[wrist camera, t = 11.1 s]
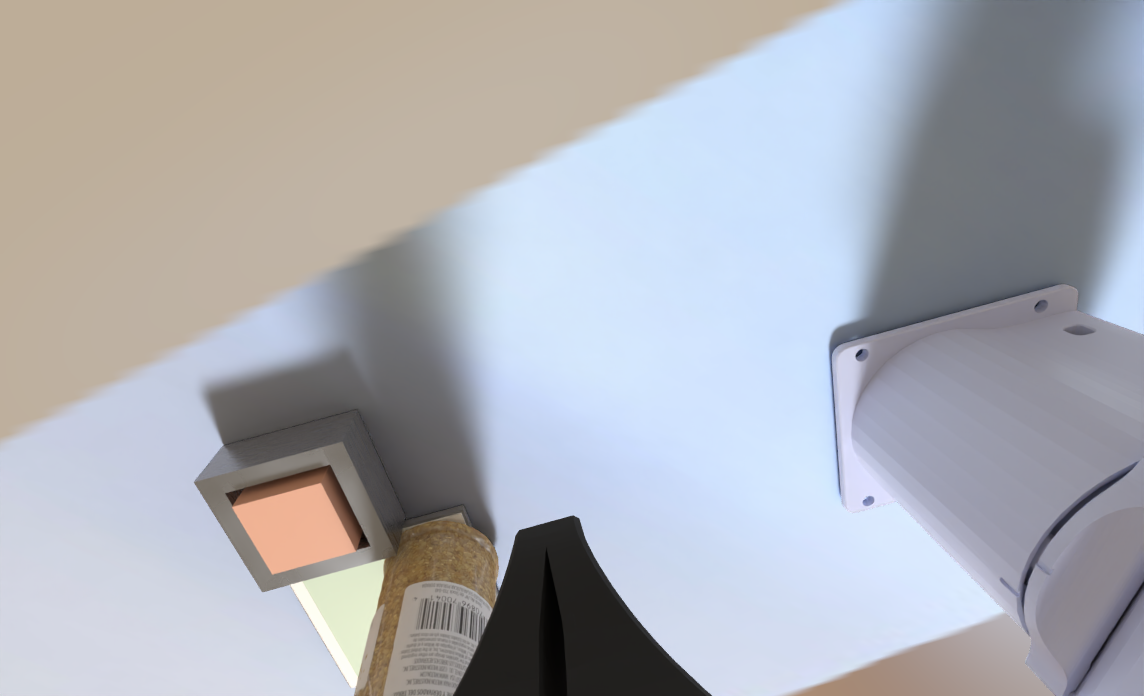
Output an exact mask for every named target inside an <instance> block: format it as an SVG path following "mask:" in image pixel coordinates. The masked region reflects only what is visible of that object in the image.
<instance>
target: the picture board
mask: <svg viewBox="0 0 1144 696" xmlns="http://www.w3.org/2000/svg"><path fill="white" fill-rule="evenodd" d="M431 521H451V522H458V523H462V524H465V525H467V526H469V527H472V525H471V522H470V520H469V517H468V515H467V512H466V510H465V507H464V505H461V506H457V507H453V508H450V509H446V510H442V511H439V512H435V513H431V514H428V515H424V516H420V517H417V518H413V519H409V520H406V521H404V526H403V530H402V533H403V532H405V531H406V530H408V529H411V528H413V527H415V526H418V525H421V524H424V523H427V522H431ZM384 561H385V559H382V560H379V561H375V562H371V563H368V564H364V565H360V566H357V567H353V568H349V569H346V570H342V571H338V572H335V573H331V574H327V575H324V576H320V577H316V578H313V579H309V580H306V581H302V582H298V583H295V584H291V585H290V587H291V588H292V590H293V592H294V593H295V595H296V597H297V598H298V600H299V602H300V603H301V605H302V607H303V609H304V610H305V612H306V614H307V615H308V617H309V619H310V620H311V622H312V624H313V625H314V627H315V629H316V631H317V632H318V634H319V636H320V637H321V639H322V641H323V642H324V644H325V646H326V647H327V649H328V651H329V652H330V654H331V656H332V658H333V659H334V661H335V663H336V664H337V666H338V668H339V669H340V671H341V673H342V674H343V676H344V678H345V679H346V681H347V683H348V685H349V686H350V688H353V687H356V685H357V680H358V676H359V672H360V668H361V663H362V658H363V654H364V650H365V646H366V642H367V637H368V633H369V630H370V626H371V622H372V619H373V617H374V615H375V613H376V610H377V605H378V599H379V596H380V592H381V588H382V583H383V579H384V574H383V567H384ZM497 596H498V590H497V588H496V599H497Z"/></svg>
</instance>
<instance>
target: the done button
mask: <svg viewBox="0 0 1144 696" xmlns="http://www.w3.org/2000/svg"><path fill="white" fill-rule="evenodd" d="M232 508H233V510H234V512H235V513H236V515H237V517H238V518H239V520H240V522H241V523H242V525H243V527H244V528H245V530H246V532H247V533H248V535H249V537H250V538H251V540H252V542H253V543H254V545H255V547H256V548H257V550H258V552H259V553H260V555H261V557H262V558H263V560H264V562H265V563H266V565H267V567H268V568H269V570H270V572H271V573H272V575H273V574H276V573H280V572H284V571H287V570H291V569H295V568H298V567H302V566H306V565H309V564H313V563H316V562H320V561H324V560H327V559H331V558H335V557H338V556H342V555H346V554H349V553H353V552H356V551H357V548H358V545H359V541H360V538H361V535H362V532H363V530H362V528H361V526H360V524H359V522H358V520H357V518H356V516H355V514H354V512H353V510H352V508H351V506H350V504H349V502H348V500H347V498H346V496H345V494H344V492H343V490H342V488H341V486H340V484H339V482H338V480H337V477H336V475H335V473H334V471H333V469H332V467H331V465H327V466H324V467H320V468H316V469H312V470H309V471H305V472H301V473H298V474H294V475H290V476H287V477H283V478H279V479H276V480H272V481H268V482H265V483H261V484H257V485H254V486H250V487H246V488H244V489H243V491H242V492H241V494H240V495H239V497H238V498H237V500H236V502H235V503H234V505H233V506H232Z"/></svg>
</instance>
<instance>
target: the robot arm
mask: <svg viewBox="0 0 1144 696" xmlns="http://www.w3.org/2000/svg"><path fill="white" fill-rule="evenodd" d="M1038 302H1039V303H1038ZM1077 302H1078V291H1077V289H1076V288H1074V287H1072V286H1069V285H1066V284H1060V285H1056V286H1052V287H1049V288H1045V289H1041V290H1038V291H1034V292H1030V293H1027V294H1023V295H1019V296H1016V297H1012V298H1008V299H1005V300H1001V301H997V302H994V303H990V304H986V305H983V306H979V307H975V308H972V309H968V310H964V311H960V312H957V313H953V314H949V315H946V316H942V317H938V318H935V319H931V320H927V321H924V322H920V323H916V324H913V325H909V326H905V327H902V328H898V329H894V330H891V331H887V332H883V333H880V334H876V335H872V336H869V337H865V338H861V339H858V340H854V341H850V342H846V343H843V344H841V345H839V346H838V347H837V348H836V349H835V350H834V352H833V353H832V370H833V385H834V400H835V414H836V429H837V444H838V458H839V473H840V488H841V502H842V505H843V506H844V508H845V509H846V510H847V511H848V512H851V513H857V512H861V511H865V510H868V509H872V508H875V507H879V506H883V505H886V504H890V503H894V502H897V503H898V504H899V505H900V506H901V507H902V508H903V509H904V510H905V511H906V512H907V513H908V514H909V515H910V516H911V517H912V518H913V519H914V520H915V521H916V522H917V523H918V524H919V525H920V526H921V527H922V528H923V529H924V530H925V531H926V532H927V533H928V534H929V535H930V536H931V537H932V538H933V539H934V540H935V541H936V542H937V543H938V544H939V545H940V546H941V547H942V548H943V549H944V550H945V551H946V552H947V554H948V555H949V556H950V557H951V558H952V559H953V560H954V561H955V562H956V563H957V564H958V565H959V566H960V567H961V568H962V569H963V570H964V571H965V572H966V573H967V574H968V575H969V576H970V577H971V578H972V579H973V580H974V581H975V582H976V583H977V584H978V585H979V586H980V587H981V588H982V589H983V590H984V591H985V592H986V593H987V594H988V595H989V596H990V597H991V598H992V599H993V600H994V601H995V602H996V603H997V604H998V605H999V606H1000V607H1001V608H1002V609H1003V610H1004V611H1005V612H1006V613H1007V614H1008V615H1009V616H1010V617H1011V618H1012V619H1013V620H1014V621H1015V622H1016V623H1017V624H1018V625H1019V626H1020V627H1021V628H1022V629H1023V630H1024V631H1025V632H1026V633H1027V634H1028V635H1029V636H1030V638H1031V647H1030V652H1029V654H1028V656H1027V658H1026V660H1025V664H1026V665H1027V666H1028V667H1029V668H1030V669H1031V670H1032V671H1033V673H1034V674H1035V675H1036V676H1037V677H1038V678H1039V679H1040V680H1041V681H1042V682H1043V683H1044V684H1045V685H1046V687H1047V688H1048V689H1049V690H1050V691H1051V692H1052V693H1053V694H1054V695H1055V696H1144V335H1143V334H1140V333H1137V332H1135V331H1132V330H1129V329H1126V328H1124V327H1121V326H1118V325H1115V324H1113V323H1110V322H1107V321H1104V320H1102V319H1099V318H1096V317H1093V316H1091V315H1088V314H1085V313H1082V312H1080V311H1077ZM1037 303H1038V305H1037V306H1036V308H1035V305H1036V304H1037ZM861 349H863V352H862V354H861V355H860V356H858V357H855V356H856V353H857V352H858V351H859V350H861ZM867 496H868V497H867ZM865 497H867V499H865V500H864V498H865ZM453 696H712V695H711V694H709V693H708V692H707V691H706V690H705V689H704V688H703V687H702V686H701V685H700V684H699V683H697V682H696V681H695V680H694V679H693V678H692V677H691V676H690V675H689V674H688V673H687V672H686V671H685V670H684V669H683V668H682V667H681V666H680V665H678V664H677V663H676V662H675V661H674V660H673V659H672V658H671V657H670V656H669V654H668V653H667V652H666V651H665V650H664V649H663V648H662V647H661V646H660V645H659V644H658V643H657V642H656V641H655V639H654V638H653V637H652V636H651V635H650V634H649V633H648V631H647V630H646V629H645V628H644V627H643V626H642V624H641V623H640V622H639V621H638V620H637V618H636V617H635V616H634V615H633V613H632V612H631V611H630V609H629V608H628V607H627V605H626V604H625V603H624V601H623V600H622V599H621V597H620V596H619V595H618V593H617V592H616V590H615V589H614V588H613V586H612V585H611V583H610V582H609V580H608V578H607V577H606V575H605V574H604V572H603V570H602V569H601V567H600V566H599V564H598V562H597V561H596V559H595V557H594V555H593V553H592V551H591V549H590V547H589V546H588V543H587V541H586V539H585V536H584V533H583V529H582V526H581V523H580V519H579V518H577V517H575V516H569V517H566V518H562V519H558V520H555V521H551V522H547V523H544V524H540V525H536V526H533V527H529V528H526V529H522V530H519V531H518V533H517V534H516V536H515V541H514V545H513V549H512V553H511V556H510V560H509V563H508V567H507V570H506V573H505V576H504V579H503V582H502V585H501V588H500V591H499V593H498V596H497V599H496V602H495V605H494V607H493V610H492V613H491V615H490V618H489V620H488V622H487V625H486V627H485V629H484V632H483V634H482V637H481V639H480V641H479V644H478V646H477V648H476V650H475V653H474V655H473V657H472V659H471V661H470V663H469V665H468V667H467V669H466V671H465V673H464V675H463V677H462V679H461V681H460V683H459V685H458V687H457V688H456V690H455V692H454V694H453Z"/></svg>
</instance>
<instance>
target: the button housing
mask: <svg viewBox="0 0 1144 696" xmlns="http://www.w3.org/2000/svg"><path fill="white" fill-rule="evenodd" d="M327 465H331V467H332V469H333V471H334V473H335V475H336V477H337V480H338V482H339V484H340V486H341V488H342V490H343V492H344V494H345V496H346V498H347V500H348V502H349V504H350V506H351V508H352V510H353V512H354V514H355V516H356V518H357V520H358V522H359V524H360V526H361V528H362V530H363V532H362V535H361V538H360V541H359V545H358V548H357V551H356V552H353V553H349V554H346V555H342V556H338V557H335V558H331V559H327V560H324V561H320V562H316V563H313V564H309V565H306V566H302V567H298V568H295V569H291V570H287V571H284V572H280V573H276V574H273V575H272V573H271V572H270V570H269V568H268V567H267V565H266V563H265V562H264V560H263V558H262V557H261V555H260V553H259V552H258V550H257V548H256V547H255V545H254V543H253V542H252V540H251V538H250V537H249V535H248V533H247V532H246V530H245V528H244V527H243V525H242V523H241V522H240V520H239V518H238V517H237V515H236V513H235V512H234V510H233V508H232V506H233V505H234V503H235V502H236V500H237V498H238V497H239V495H240V494H241V492H242V491H243V489H244V488H246V487H250V486H254V485H257V484H261V483H265V482H268V481H272V480H276V479H279V478H283V477H287V476H290V475H294V474H298V473H301V472H305V471H309V470H312V469H316V468H320V467H324V466H327ZM194 483H195V485H196V486H197V488H198V490H199V491H200V493H201V494H202V496H203V498H204V499H205V501H206V502H207V504H208V506H209V507H210V509H211V510H212V512H213V514H214V515H215V517H216V518H217V520H218V522H219V523H220V525H221V527H222V528H223V530H224V531H225V533H226V535H227V536H228V538H229V539H230V541H231V543H232V544H233V546H234V547H235V549H236V551H237V552H238V554H239V555H240V557H241V559H242V560H243V562H244V564H245V565H246V567H247V568H248V570H249V572H250V573H251V575H252V576H253V578H254V580H255V581H256V583H257V584H258V586H259V588H260V589H261V591H262V592H265V591H269V590H273V589H276V588H280V587H284V586H287V585H291V584H295V583H298V582H302V581H306V580H309V579H313V578H316V577H320V576H324V575H327V574H331V573H335V572H338V571H342V570H346V569H349V568H353V567H357V566H360V565H364V564H368V563H371V562H375V561H379V560H382V559H386V558H390V557H393V556H397V552H398V548H399V543H400V539H401V534H402V530H403V526H404V521H405V517H406V516H405V514H404V511H403V509H402V507H401V505H400V503H399V500H398V498H397V496H396V494H395V492H394V489H393V487H392V485H391V483H390V481H389V478H388V476H387V474H386V472H385V470H384V467H383V465H382V463H381V461H380V459H379V456H378V454H377V452H376V450H375V448H374V445H373V443H372V441H371V439H370V436H369V434H368V432H367V430H366V428H365V425H364V423H363V421H362V419H361V417H360V414H359V412H358V410H353V411H350V412H346V413H342V414H339V415H335V416H331V417H328V418H324V419H320V420H317V421H313V422H309V423H305V424H302V425H298V426H294V427H291V428H287V429H283V430H280V431H276V432H272V433H269V434H265V435H261V436H258V437H254V438H250V439H246V440H243V441H239V442H235V443H232V444H228V445H224V446H222V448H221V449H220V450H219V451H218V453H217V454H216V455H215V456H214V458H213V459H212V460H211V461H210V463H209V464H208V465H207V466H206V468H205V469H204V470H203V471H202V473H201V474H200V475H199V476H198V478H197V479H196V480H195V481H194Z"/></svg>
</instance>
